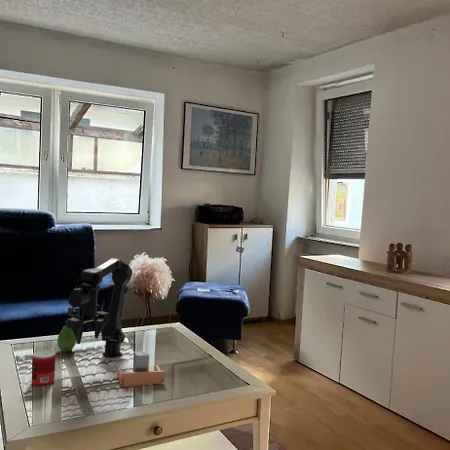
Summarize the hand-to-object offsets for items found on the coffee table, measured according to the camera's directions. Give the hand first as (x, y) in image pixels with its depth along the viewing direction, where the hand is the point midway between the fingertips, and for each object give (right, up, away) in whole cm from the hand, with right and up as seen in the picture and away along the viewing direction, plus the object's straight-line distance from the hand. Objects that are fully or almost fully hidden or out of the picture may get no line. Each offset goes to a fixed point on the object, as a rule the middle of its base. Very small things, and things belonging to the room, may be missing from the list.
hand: (87, 341), depth 185 cm
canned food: (-12, -12, -13) cm, 22 cm away
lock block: (+22, -13, -5) cm, 26 cm away
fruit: (-16, -10, +21) cm, 28 cm away
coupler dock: (+22, -14, -4) cm, 26 cm away
